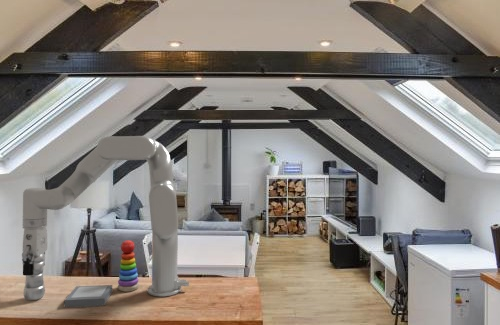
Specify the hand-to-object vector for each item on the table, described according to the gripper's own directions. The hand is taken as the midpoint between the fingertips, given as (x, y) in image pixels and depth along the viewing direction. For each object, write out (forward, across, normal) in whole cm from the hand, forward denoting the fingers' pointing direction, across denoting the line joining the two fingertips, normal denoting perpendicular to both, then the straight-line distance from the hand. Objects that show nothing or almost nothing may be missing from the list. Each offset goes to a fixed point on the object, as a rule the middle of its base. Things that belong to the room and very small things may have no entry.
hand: (34, 270), depth 133 cm
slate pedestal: (+10, -2, -20) cm, 22 cm away
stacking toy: (+10, +7, -32) cm, 34 cm away
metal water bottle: (+11, 0, 0) cm, 11 cm away
